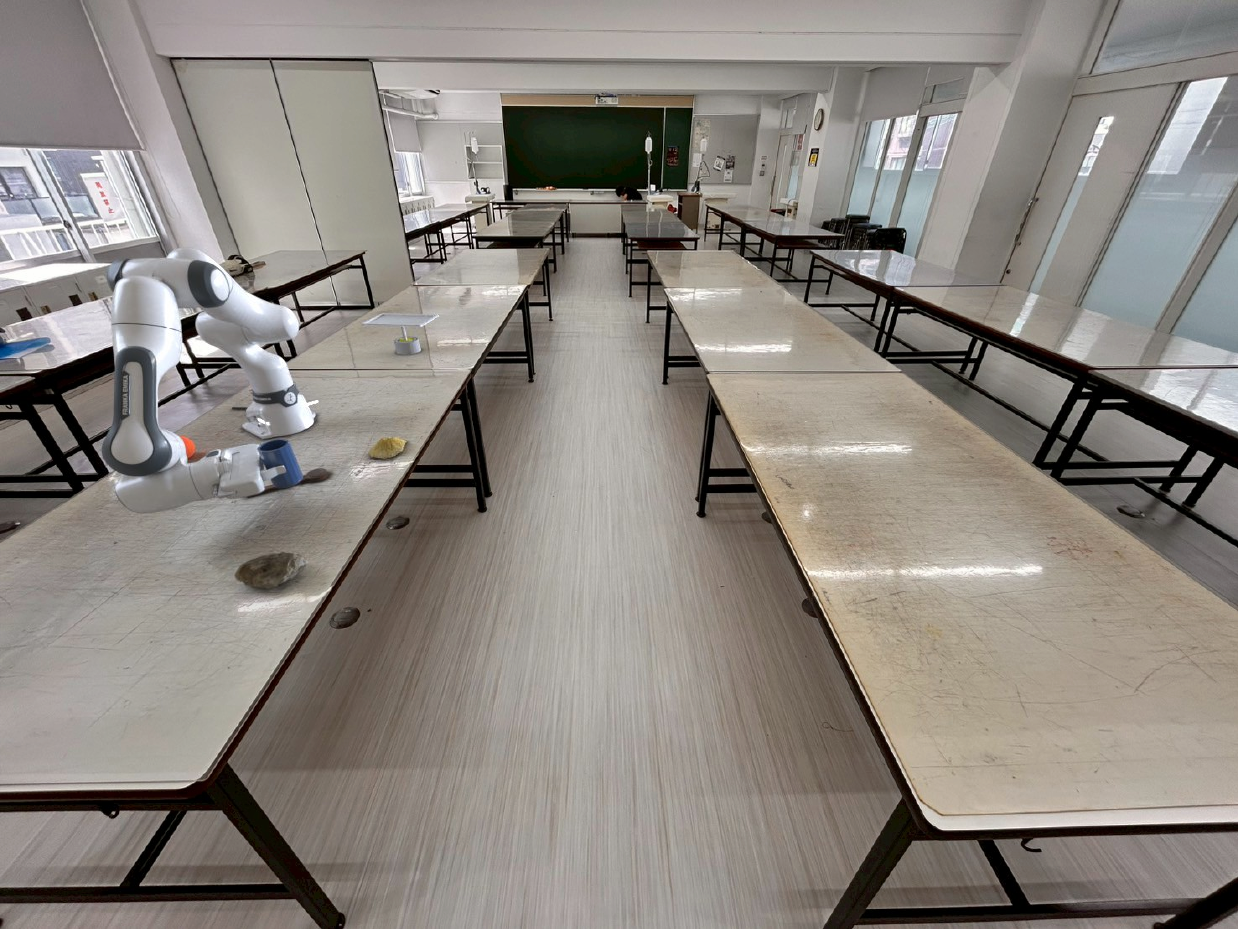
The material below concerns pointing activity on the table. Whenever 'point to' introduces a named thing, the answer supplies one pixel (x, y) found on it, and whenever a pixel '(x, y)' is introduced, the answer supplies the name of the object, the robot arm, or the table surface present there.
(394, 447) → the fossil
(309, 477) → the spoon
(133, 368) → the robot arm
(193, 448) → the clementine
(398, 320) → the solar panel model
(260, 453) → the cup
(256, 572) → the stone
